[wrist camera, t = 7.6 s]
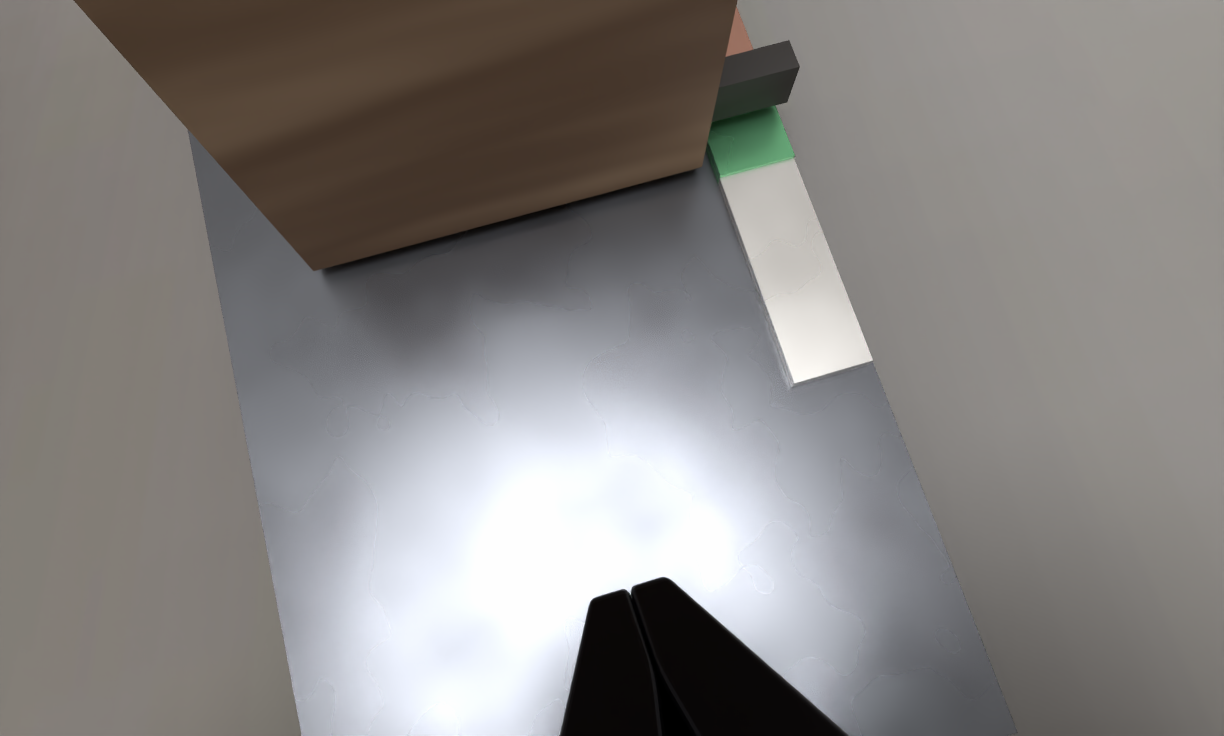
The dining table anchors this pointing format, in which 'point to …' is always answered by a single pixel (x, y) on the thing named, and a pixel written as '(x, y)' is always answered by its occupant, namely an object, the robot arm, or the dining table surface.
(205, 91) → the brown wooden flat block
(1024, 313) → the dining table surface
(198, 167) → the grey piece
